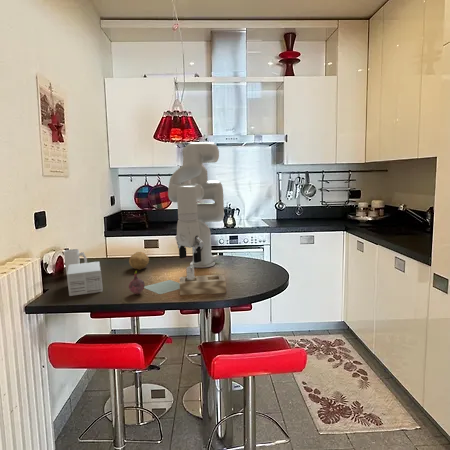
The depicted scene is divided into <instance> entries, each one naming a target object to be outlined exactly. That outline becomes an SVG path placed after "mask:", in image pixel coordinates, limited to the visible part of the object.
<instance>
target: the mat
mask: <svg viewBox="0 0 450 450" xmlns="http://www.w3.org/2000/svg"><path fill="white" fill-rule="evenodd" d="M144 289H145V290H148V291H150V292H153V293H154V294H158V295H162V294H163V295H164V294H167V293H171V292H175V291H177V290H180V282H178V281H175V280H172V279H168V280H165V281H164V280H163V281H160V282H157V283H156V282H155V283H152V284H148V285H145V287H144Z"/></svg>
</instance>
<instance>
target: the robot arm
mask: <svg viewBox="0 0 450 450" xmlns="http://www.w3.org/2000/svg"><path fill="white" fill-rule="evenodd" d="M182 158H183V159H182V166H180V167H178V168H177V169H176V170H175V171H174V172H173V173H172V175H170V178H169V182H168V183H169V184H168V188H167V189H168V190H167V196H168V199H169V201H170V202H172V203H177V219H178V220H177V223H176V235H175V240H176V244H177V249H178V255H179V256H178V257H179V259H183V258H184V259H185V258H187V248H188V249H191V250H192V261H191V262H190V263H189V266H193V267H194V269H195V268H196V269H200V268H201V269H203V268H209V267H213V266H215V264H216V262H215V261H214V260H217V259H220V256H219V255H218V254H215V255H213V254H212V240H211V239H212V237H211V235H212V234H211V229H210V227H209V226H208V225H207V224H206V223H218V222H222V221H223V220H224V217H225V205H224V200H225V199H224V188H223V185H222V182H221V181H219V180H208V171H207V169H206V167H205V166H204V165H203V164H207V163H208V164H213V163H217V162H218V161H219V159H220V150H219V147H218V145H217V144H216V143H214V142H212V141H211V142H210V141H209V142H208V141H205V142H203V141H202V142H200V141H199V142H190V143H188V144H187V145H185V147H183V149H182ZM187 181H190V183H184V182H187ZM200 201H214V202H201V203H200ZM198 202H199V203H198Z"/></svg>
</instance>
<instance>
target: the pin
mask: <svg viewBox="0 0 450 450" xmlns="http://www.w3.org/2000/svg"><path fill="white" fill-rule="evenodd" d="M194 276H195V267H193V266H190V265H189V266H186V277H187V281H195V278H194Z"/></svg>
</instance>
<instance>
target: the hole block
mask: <svg viewBox="0 0 450 450" xmlns="http://www.w3.org/2000/svg"><path fill="white" fill-rule="evenodd" d="M194 278H195V281H187V276H179V283H180V289H179V295H180V296H187V295H189V296H190V295H198V294H199V295H201V294H207V295H212V294H213V295H215V294H226V293H227V281H226V278H225V275H224V274H221V273H220V274H209V275H196V276H195V275H194Z"/></svg>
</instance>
